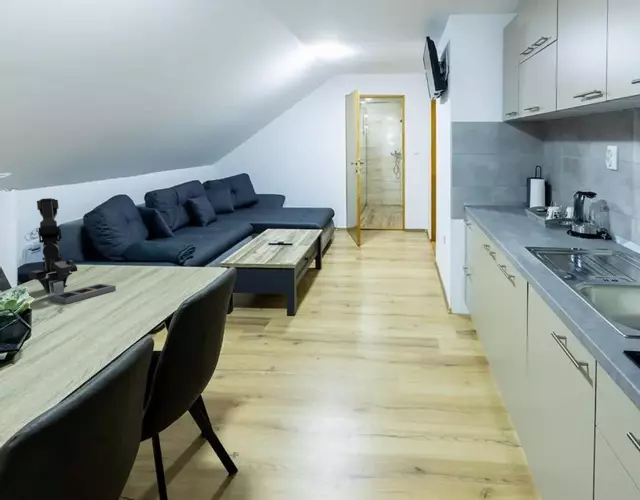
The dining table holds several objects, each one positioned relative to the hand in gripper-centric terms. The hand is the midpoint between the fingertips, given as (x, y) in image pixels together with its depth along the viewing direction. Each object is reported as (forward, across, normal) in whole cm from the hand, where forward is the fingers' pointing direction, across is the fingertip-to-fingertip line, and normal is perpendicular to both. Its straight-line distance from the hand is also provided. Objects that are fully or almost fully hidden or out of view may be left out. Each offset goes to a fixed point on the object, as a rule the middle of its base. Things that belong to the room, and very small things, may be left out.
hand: (55, 292), depth 242 cm
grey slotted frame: (+2, +5, -11) cm, 12 cm away
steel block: (+2, 0, 0) cm, 2 cm away
